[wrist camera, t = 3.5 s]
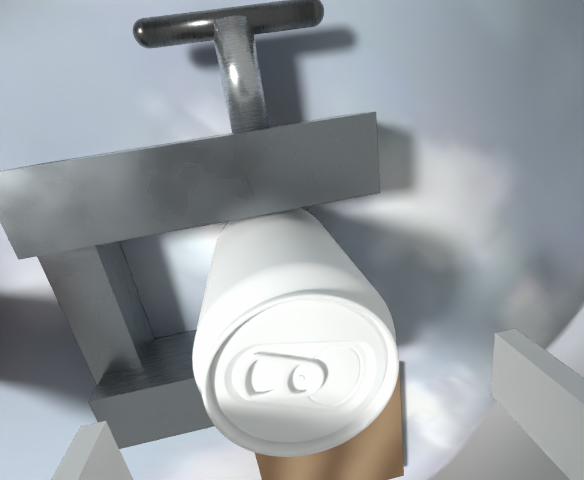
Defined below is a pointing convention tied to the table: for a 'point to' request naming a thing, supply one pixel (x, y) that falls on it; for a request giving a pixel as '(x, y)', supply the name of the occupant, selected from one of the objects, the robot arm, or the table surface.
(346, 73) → the table surface
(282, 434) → the beverage can
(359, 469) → the pad
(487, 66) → the table surface
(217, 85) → the table surface
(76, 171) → the c-clamp
